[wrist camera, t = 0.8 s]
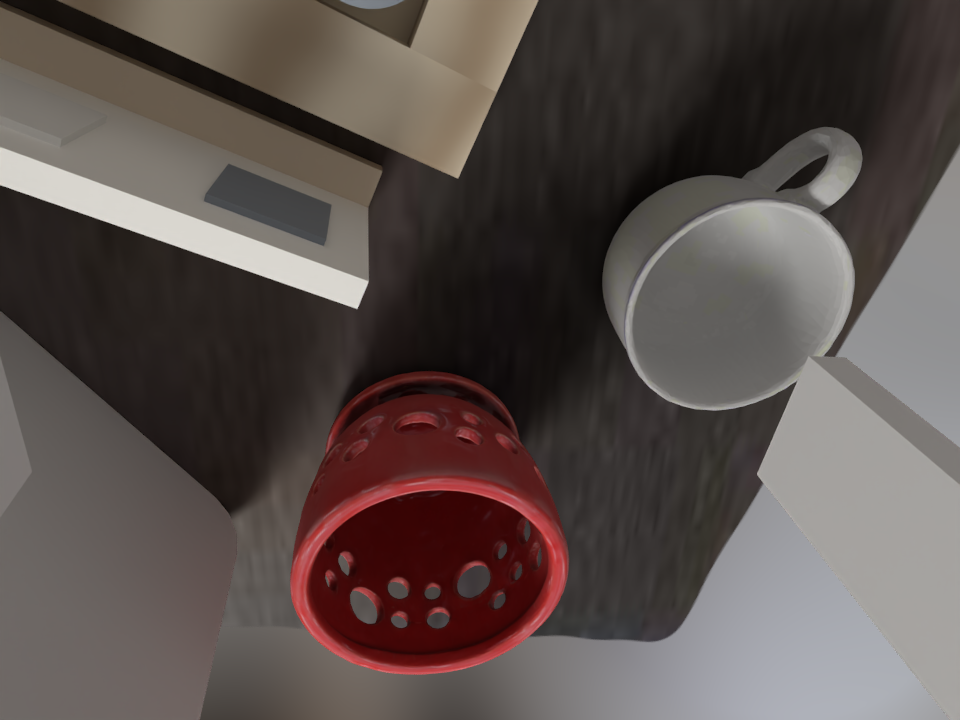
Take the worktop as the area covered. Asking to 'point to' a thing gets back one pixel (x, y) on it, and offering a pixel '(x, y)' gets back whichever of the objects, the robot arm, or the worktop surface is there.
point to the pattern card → (179, 162)
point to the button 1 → (372, 3)
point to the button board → (350, 60)
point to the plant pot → (426, 528)
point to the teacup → (734, 277)
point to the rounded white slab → (103, 560)
